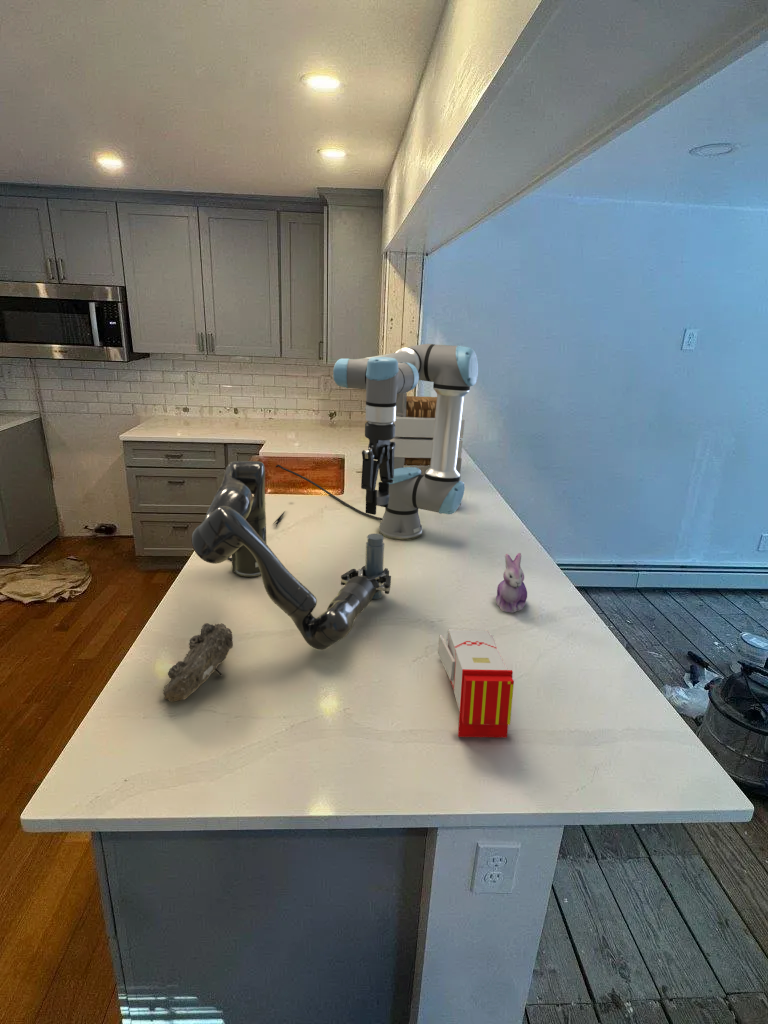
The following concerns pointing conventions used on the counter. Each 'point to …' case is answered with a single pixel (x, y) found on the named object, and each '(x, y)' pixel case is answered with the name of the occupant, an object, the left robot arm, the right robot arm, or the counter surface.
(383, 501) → the lid
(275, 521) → the feather
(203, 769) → the counter surface
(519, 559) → the figurine
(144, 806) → the counter surface
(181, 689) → the fossil
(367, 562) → the jar
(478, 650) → the toy
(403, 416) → the grey slatted crate
